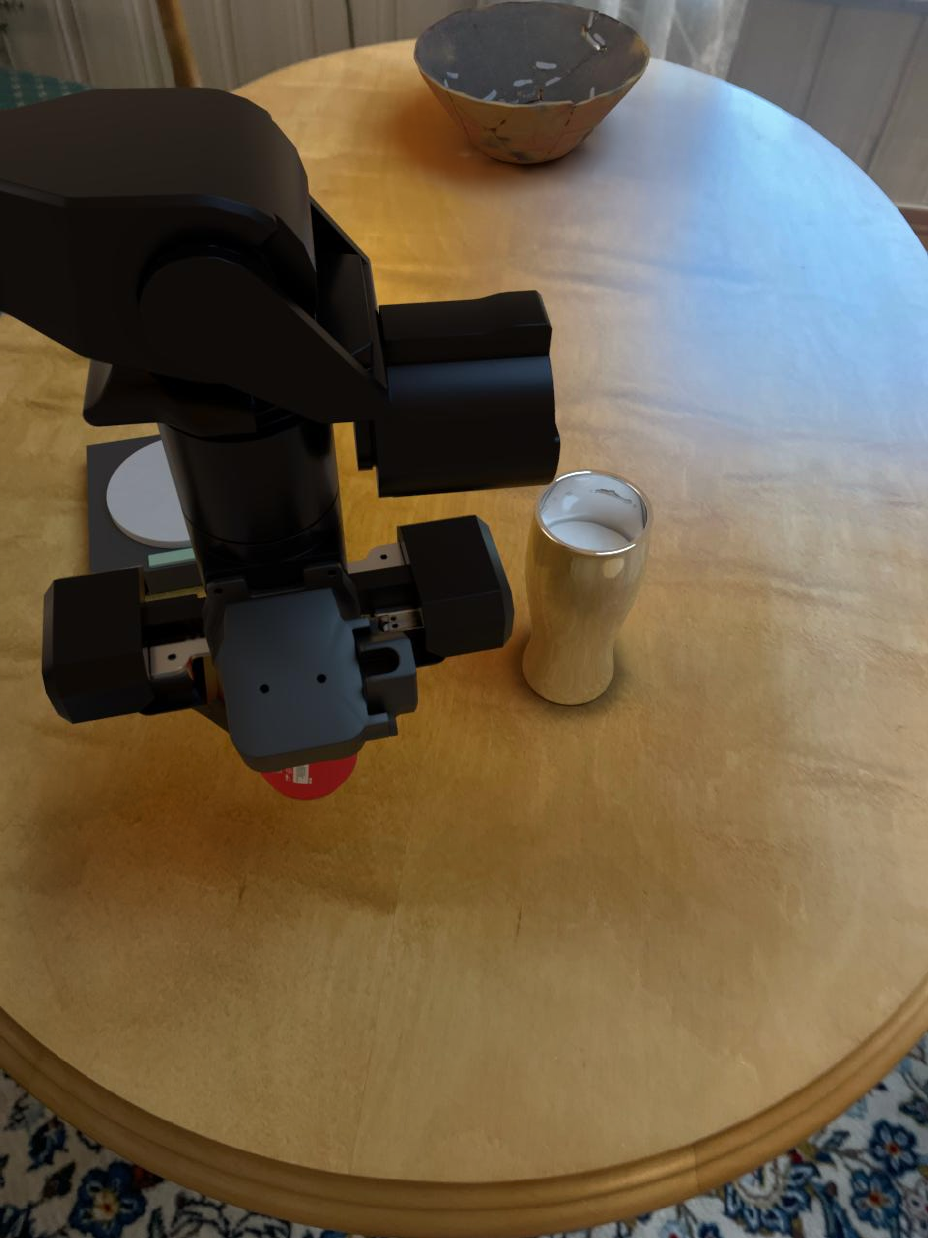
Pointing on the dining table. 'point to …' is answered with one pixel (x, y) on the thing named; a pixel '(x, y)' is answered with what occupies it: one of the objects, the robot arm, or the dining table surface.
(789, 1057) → the dining table surface
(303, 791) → the beverage can
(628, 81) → the bowl
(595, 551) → the beer glass
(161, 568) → the scale
